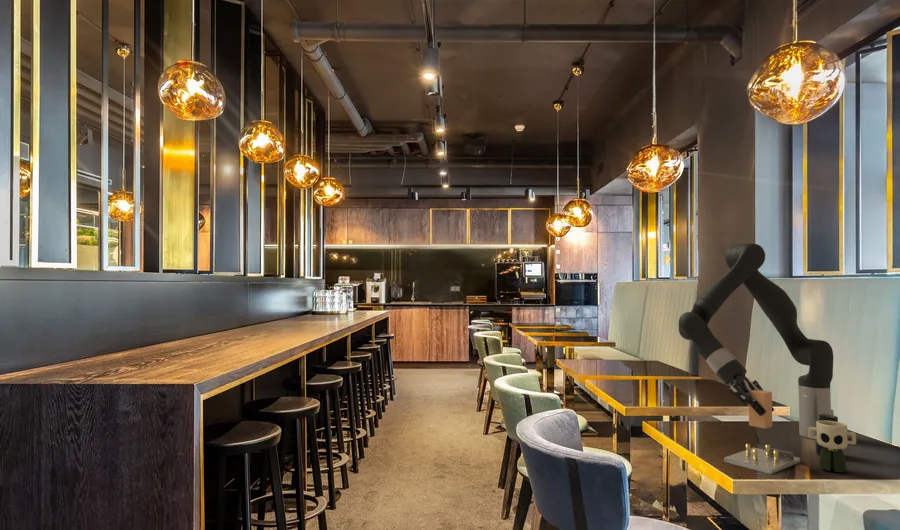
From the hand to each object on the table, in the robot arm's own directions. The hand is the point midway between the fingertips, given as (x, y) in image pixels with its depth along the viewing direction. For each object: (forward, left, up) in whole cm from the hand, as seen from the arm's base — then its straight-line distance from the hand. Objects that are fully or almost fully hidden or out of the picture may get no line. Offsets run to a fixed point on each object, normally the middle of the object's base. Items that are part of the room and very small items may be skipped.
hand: (767, 412), depth 159 cm
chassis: (+1, -2, -15) cm, 15 cm away
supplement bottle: (-24, -4, -15) cm, 29 cm away
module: (+1, -2, -4) cm, 5 cm away
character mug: (-13, +8, -15) cm, 22 cm away
